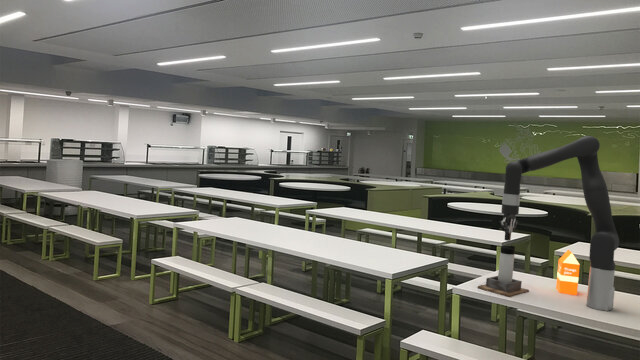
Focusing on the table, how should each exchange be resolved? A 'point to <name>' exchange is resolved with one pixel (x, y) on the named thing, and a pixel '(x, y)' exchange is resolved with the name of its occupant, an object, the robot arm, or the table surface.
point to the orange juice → (568, 274)
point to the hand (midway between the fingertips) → (507, 240)
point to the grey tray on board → (503, 287)
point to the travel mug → (506, 264)
